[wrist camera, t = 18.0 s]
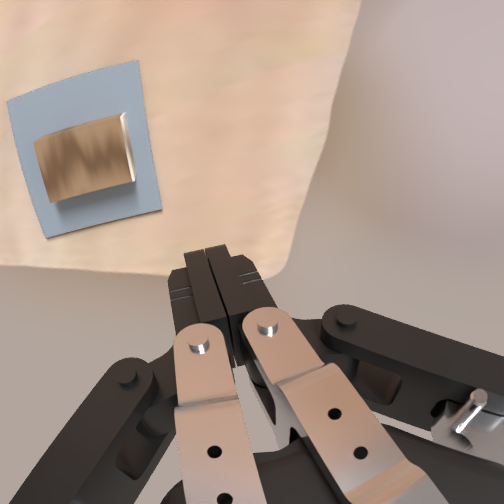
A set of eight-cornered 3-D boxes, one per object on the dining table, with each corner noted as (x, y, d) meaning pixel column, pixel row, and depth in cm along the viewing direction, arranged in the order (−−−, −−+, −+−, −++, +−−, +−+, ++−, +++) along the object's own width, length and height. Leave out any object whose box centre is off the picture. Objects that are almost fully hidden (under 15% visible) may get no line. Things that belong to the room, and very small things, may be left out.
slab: (33, 142, 25) (122, 116, 27) (43, 135, 28) (125, 112, 30) (50, 203, 29) (135, 180, 31) (57, 191, 32) (136, 171, 34)
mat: (8, 101, 25) (6, 101, 24) (138, 60, 28) (138, 60, 28) (46, 236, 35) (45, 238, 34) (162, 207, 38) (162, 208, 38)
